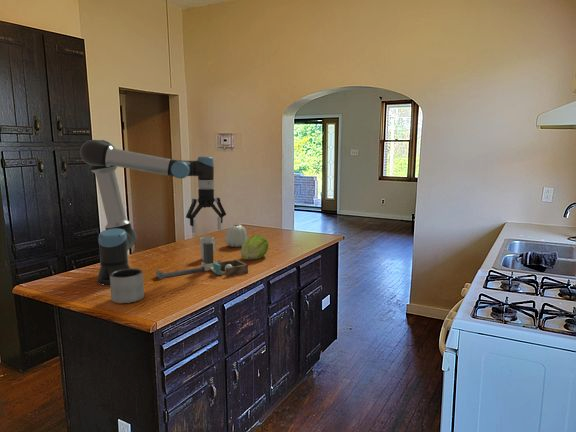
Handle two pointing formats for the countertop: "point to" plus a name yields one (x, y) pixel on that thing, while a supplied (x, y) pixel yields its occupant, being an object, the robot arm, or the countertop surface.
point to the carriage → (210, 259)
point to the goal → (234, 267)
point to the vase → (236, 236)
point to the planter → (126, 285)
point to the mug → (205, 240)
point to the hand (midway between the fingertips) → (206, 231)
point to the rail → (179, 272)
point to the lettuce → (254, 247)
